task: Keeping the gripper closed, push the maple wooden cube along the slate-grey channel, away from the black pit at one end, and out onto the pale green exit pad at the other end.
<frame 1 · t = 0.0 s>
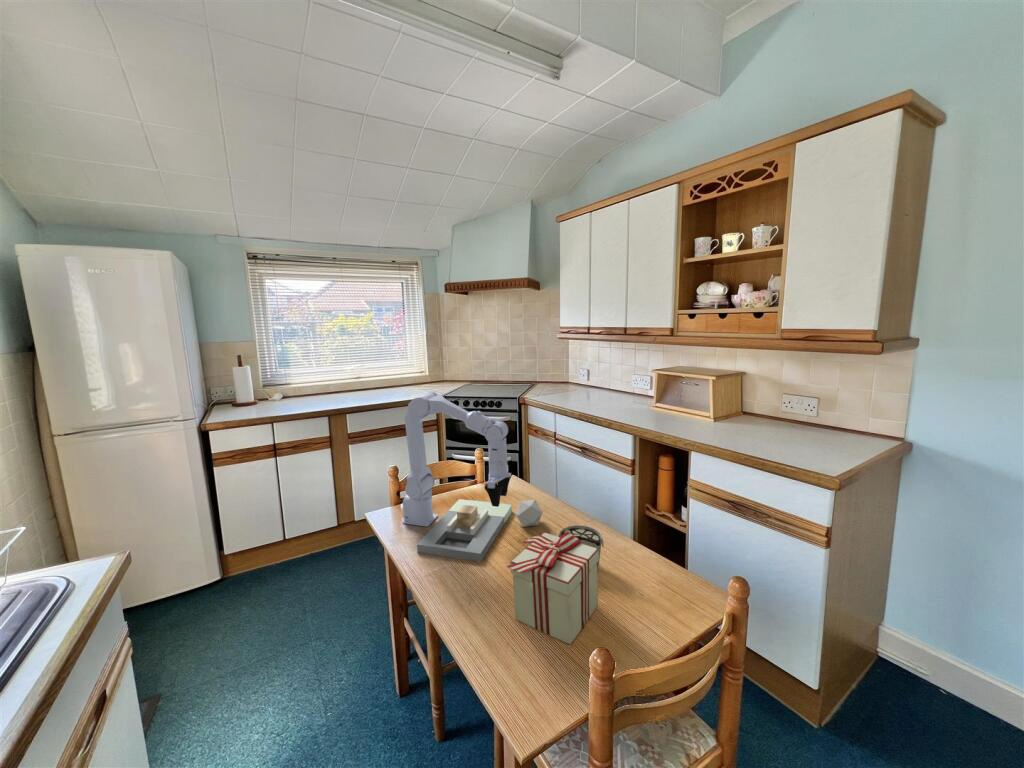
hand: (499, 500, 134), 10 cm above the table, tool pointing down, fingers open, 7 cm apart
dark grey curved piece: (583, 564, 116), on the table
die: (529, 524, 139), on the table
gift box: (550, 613, 98), on the table
maple block: (467, 523, 135), point 2 cm above the table, touching trap deck
trap deck: (469, 529, 136), on the table
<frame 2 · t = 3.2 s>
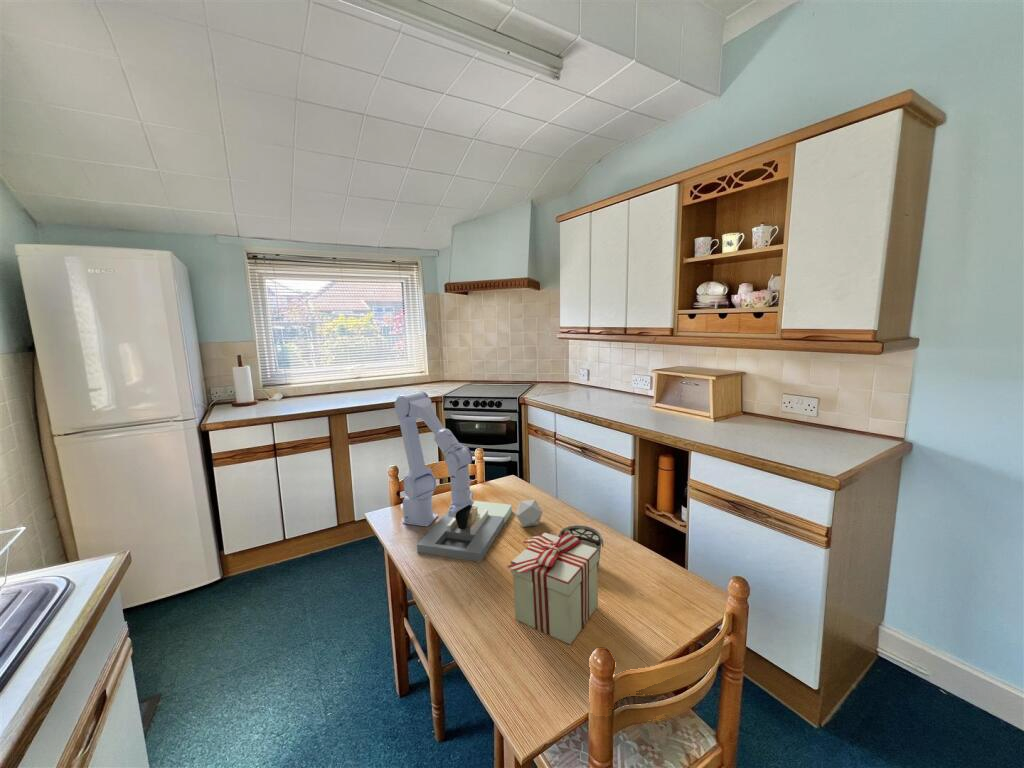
hand: (462, 528, 131), 3 cm above the table, tool pointing down, fingers closed
maple block: (468, 523, 135), point 3 cm above the table, touching gripper, trap deck
everything else where it was.
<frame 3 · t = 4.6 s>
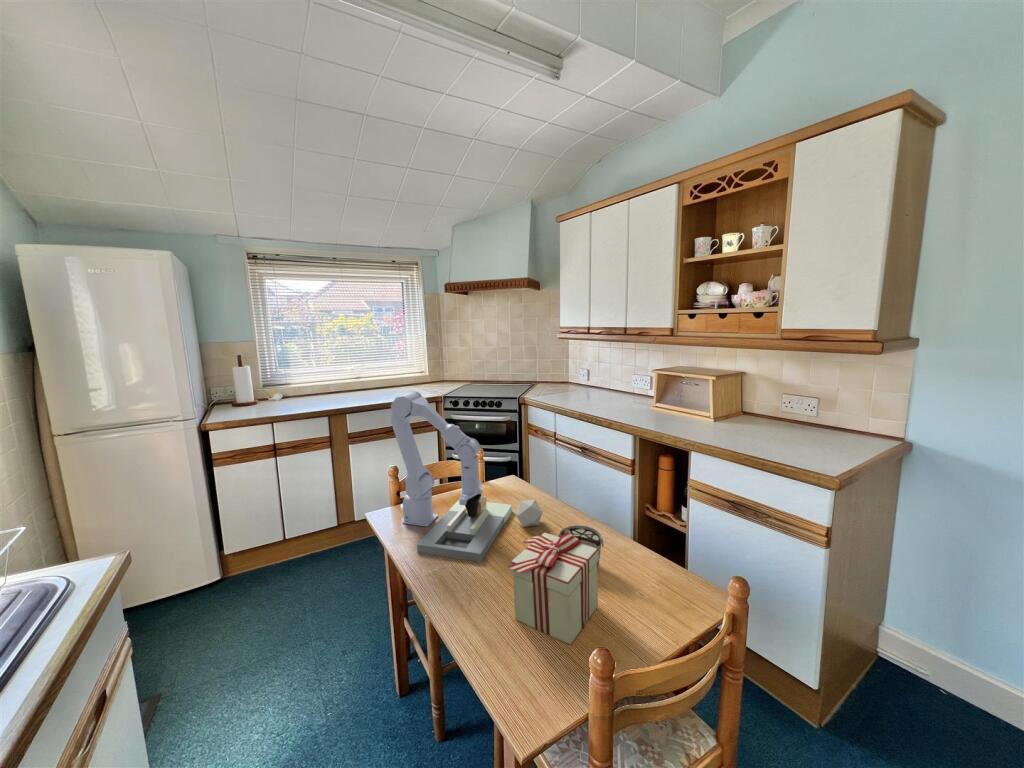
hand: (472, 516, 138), 3 cm above the table, tool pointing down, fingers closed
maple block: (477, 512, 143), point 3 cm above the table, touching gripper
everything else where it was.
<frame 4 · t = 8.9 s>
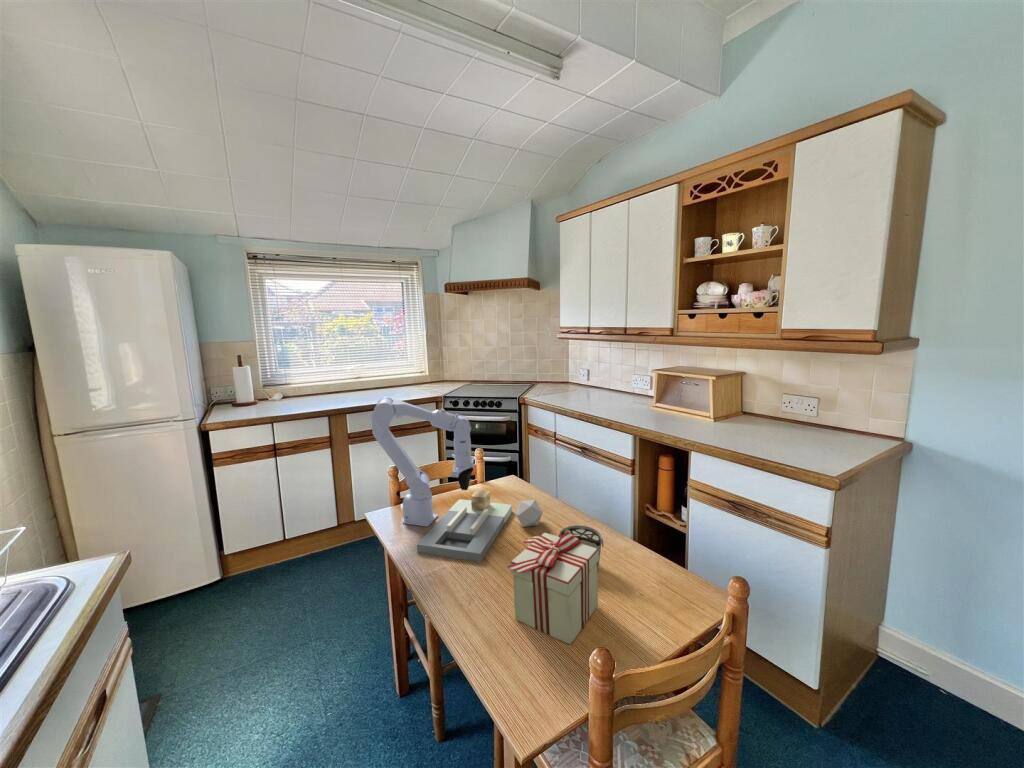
hand: (464, 489, 145), 9 cm above the table, tool pointing down, fingers closed
maple block: (481, 507, 146), point 2 cm above the table, touching trap deck
everything else where it was.
at the end: maple block inside the target area on the trap deck (0.5 cm from its centre), point 2.5 cm above the trap deck's base; maple block tilted 0° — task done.
